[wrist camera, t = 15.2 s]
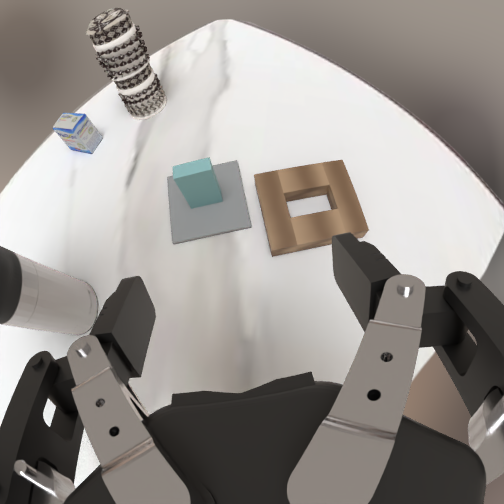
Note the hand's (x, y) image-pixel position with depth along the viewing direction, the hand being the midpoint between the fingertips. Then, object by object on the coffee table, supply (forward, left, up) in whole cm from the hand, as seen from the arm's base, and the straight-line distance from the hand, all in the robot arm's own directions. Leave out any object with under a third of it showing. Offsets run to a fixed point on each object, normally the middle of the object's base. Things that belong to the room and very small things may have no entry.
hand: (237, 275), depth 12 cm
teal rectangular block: (-5, +19, -28) cm, 34 cm away
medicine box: (-30, +42, -29) cm, 59 cm away
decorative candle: (-15, +47, -29) cm, 57 cm away
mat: (-5, +20, -28) cm, 35 cm away
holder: (+10, +15, -28) cm, 33 cm away
